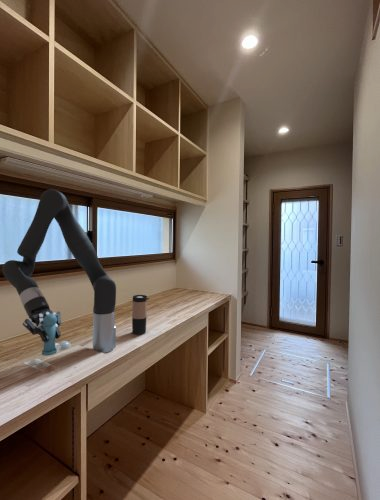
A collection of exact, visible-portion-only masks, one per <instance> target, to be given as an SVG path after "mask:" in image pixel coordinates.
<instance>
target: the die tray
mask: <svg viewBox="0 0 380 500" xmlns="http://www.w3.org/2000/svg"><path fill="white" fill-rule="evenodd" d="M71 347H72V345H71V343H70V342H69V341H67V340H62V341H61V342H55V348H56V349H57V352H59V351H65V350H68V349H71Z"/></svg>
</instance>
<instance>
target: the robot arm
mask: <svg viewBox="0 0 380 500" xmlns="http://www.w3.org/2000/svg"><path fill="white" fill-rule="evenodd" d="M53 220H55V221H56V222H57V224H58V226H59V228H60V231H61V233H62V236H63V239H64V241H65V245H66V246H67V248H68V250H69V252H70V253H71V255H72V256H73V258H74V259H75V261H76V262H77V263H78V265H79V266H80V267H81V268H82V269H83V271H84V272H85V274H86V275H87V277H88V280H89V281H90V284H91V286H92V289H93V291H94V293H93V294H94V296H93V311H92V312H93V313H92V315H93V316H92V327H93V328H92V350H93V351H95V352H99V353H102V354H106V353H109V352H111V351H113V350H114V349H115V348H116V346H117V345H116V341H117V339H116V337H117V334H116V333H117V327H116V326H115V312H116V311H115V310H116V309H115V308H116V305H117V304H116V303H117V302H116V300H117V286H116V283H115V281H114V280H113V279H112V278H111V277H110V275H108V273H107V272H106V271H105V269H104V268H103V266H102V264H101V262H100V260H99V256H98V254H97V251H96V248H95V247H94V245H93V243H92V242H91V240H90V237H89V236H88V234H86V231H85V230H84V228H82V226H81V224H80V223H79V221H78V220H77V218H76V217H75V215H74V213H73V211H72V208H71V206H70V204H69V201H68V199H67V197H66V196H65V194H63V192H60V190H57V189H53V188H52V189H51V188H50V189H47V190H44V192H43V193H41V195H40V198H39V202H38V205H37V208H36V211H35V213H34V216H33V219H32V221H31V223H30V225H29V227H28V229H27V231H26V232H25V234H24V237H23V238H22V240H21V242H20V244H19V245H18V248H17V251H16V253H17V254H18V255H19V256H21V257H23V258H22V261H21V260H16V259H15V260H14V259H12V260H11V259H10V260H7V261H5V262H4V264H3V265H2V274H3V276H4V278H5V279H6V280H7V281H8V283H10V284H11V285H12V286H13V287H14V288H15V290H16V292H17V295H18V296H19V299H20V302H21V304H22V306H23V308H24V310H25V312H26V315H27V316H28V318H26V319H24V320H23V322H22V325H23V327H24V328H26V330H28V331H29V332H30V333H31V334H32V335H39V336H40V339H41V341H42V342H43V343H44V342H45V343H46V342H48V341H49V337H48V335H47V333H46V331H44V324H43V318H44V317H45V316H46V315H48V314H54V315H55V316H56V317H57V322H56V335H55V340H59V339H60V337H61V334H62V333H61V331H60V329H59V327H60V326H61V325H62V314H61V311H57V312H53V310H51V309H50V304H49V303H48V300H47V299H46V297H45V295H44V293H43V291H42V290H41V289H40V287H39V286H38V283H37V282H36V280H35V279H34V277H30V276H32V274H33V272H34V269H35V265H36V261H37V260H36V258H37V256H38V253H39V251H40V250H41V248H42V245H43V244H44V241H45V239H46V236H47V233H48V230H49V229H50V226H51V224H52V222H53Z"/></svg>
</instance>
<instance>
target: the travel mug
mask: <svg viewBox="0 0 380 500" xmlns="http://www.w3.org/2000/svg"><path fill="white" fill-rule="evenodd" d="M147 298H148V296H147V295H146V294H134V295H132V314H131V317H132V318H131V320H132V321H131V323H132V324H131V328H132V331H131V333H132V335H136V336H140V335H145V334H146V332H147V316H148V315H147V311H148V310H147V306H148V304H147V301H148V299H147Z"/></svg>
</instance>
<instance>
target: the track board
mask: <svg viewBox="0 0 380 500" xmlns="http://www.w3.org/2000/svg"><path fill="white" fill-rule="evenodd" d="M23 364H25V365H27V366H29V367H31V368H33V369H36V370H38V371H41V372H43V373H45V374H47V375H49V374H51V373H52V372H55V371H56V370H59V369H60V367H59V366H56V365H53V364H51V363H49V362H46V361H44V360H41V359H39V358H33V359H31V360H28V361H25V362H24V363H23Z"/></svg>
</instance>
